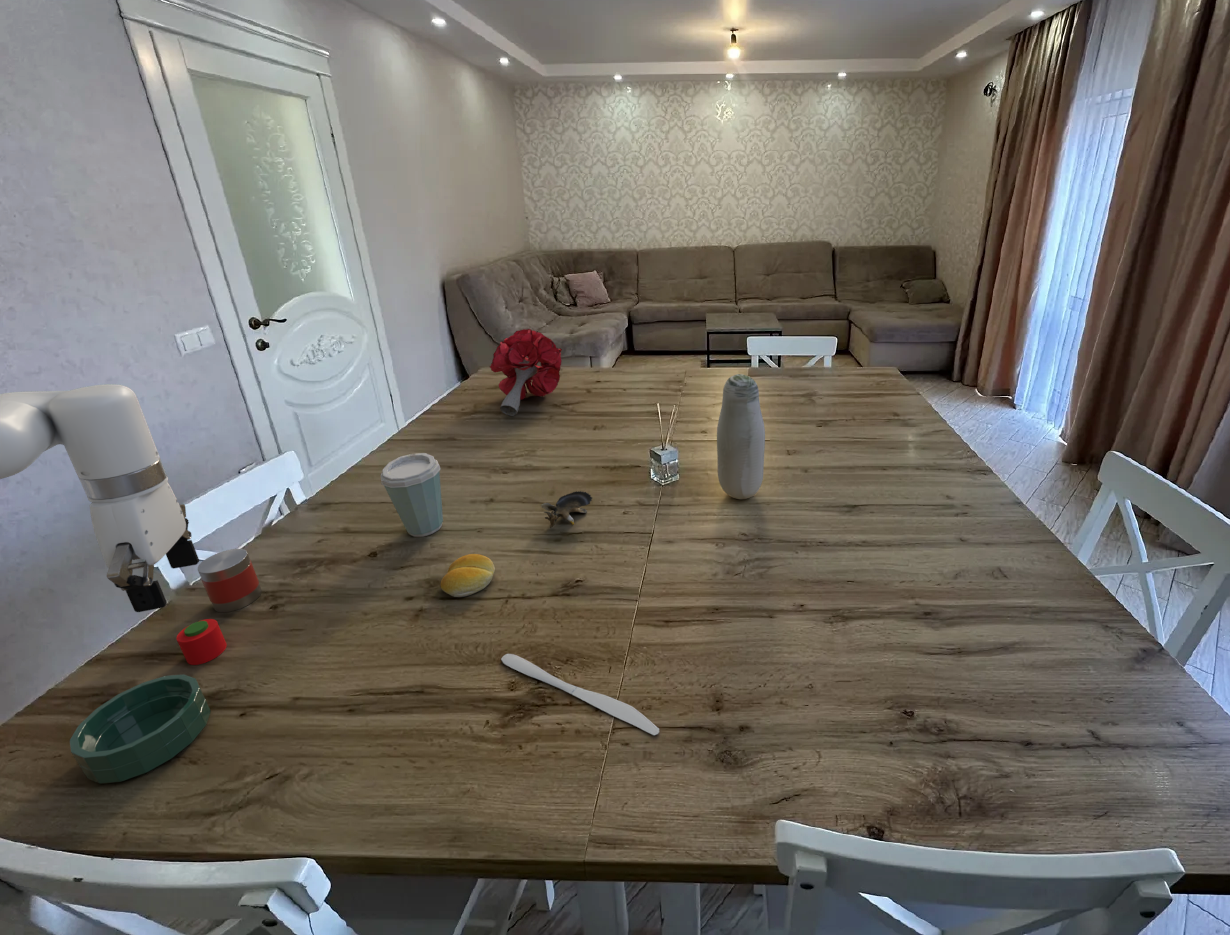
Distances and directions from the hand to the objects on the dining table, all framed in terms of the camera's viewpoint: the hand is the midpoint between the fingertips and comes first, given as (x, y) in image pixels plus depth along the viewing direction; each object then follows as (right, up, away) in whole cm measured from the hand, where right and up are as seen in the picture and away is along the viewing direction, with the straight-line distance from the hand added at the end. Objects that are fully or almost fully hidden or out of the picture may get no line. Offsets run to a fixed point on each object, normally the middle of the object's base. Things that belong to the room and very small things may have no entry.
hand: (169, 585), depth 78 cm
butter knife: (+58, -14, -2) cm, 60 cm away
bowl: (+6, -17, -8) cm, 20 cm away
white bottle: (+84, +5, +46) cm, 96 cm away
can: (-4, -8, +16) cm, 18 cm away
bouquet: (+17, +27, +102) cm, 107 cm away
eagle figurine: (+47, +1, +37) cm, 60 cm away
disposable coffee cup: (+18, 0, +35) cm, 39 cm away
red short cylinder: (+1, -12, +5) cm, 13 cm away
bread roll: (+34, -6, +20) cm, 40 cm away
